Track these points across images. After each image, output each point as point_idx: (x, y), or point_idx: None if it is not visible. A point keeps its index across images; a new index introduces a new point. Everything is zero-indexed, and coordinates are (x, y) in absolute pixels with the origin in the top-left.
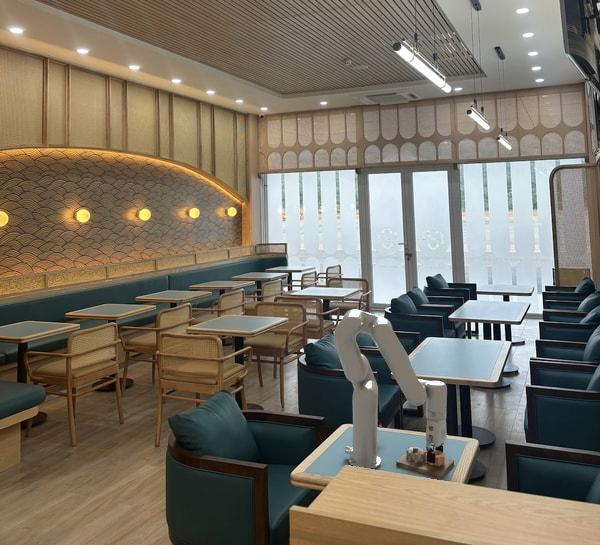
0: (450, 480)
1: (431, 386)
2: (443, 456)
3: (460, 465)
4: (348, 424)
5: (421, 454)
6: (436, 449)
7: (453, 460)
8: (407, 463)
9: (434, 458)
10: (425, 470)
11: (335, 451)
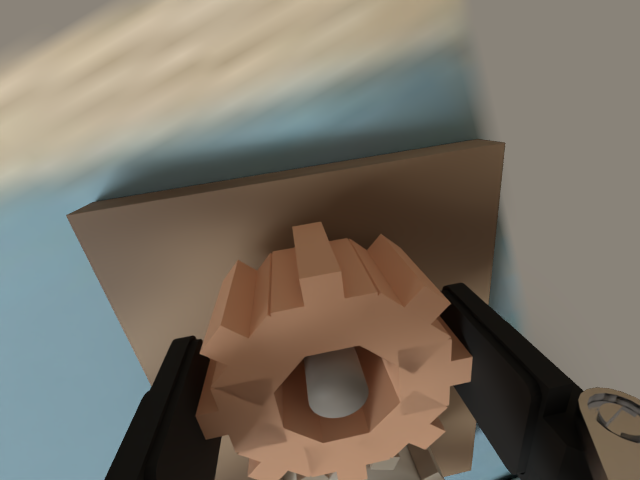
0: (465, 34)
1: None
2: (340, 281)
3: (49, 128)
4: None
5: (395, 458)
6: (210, 453)
7: (78, 217)
8: (457, 423)
9: (505, 324)
10: (486, 291)
11: None
